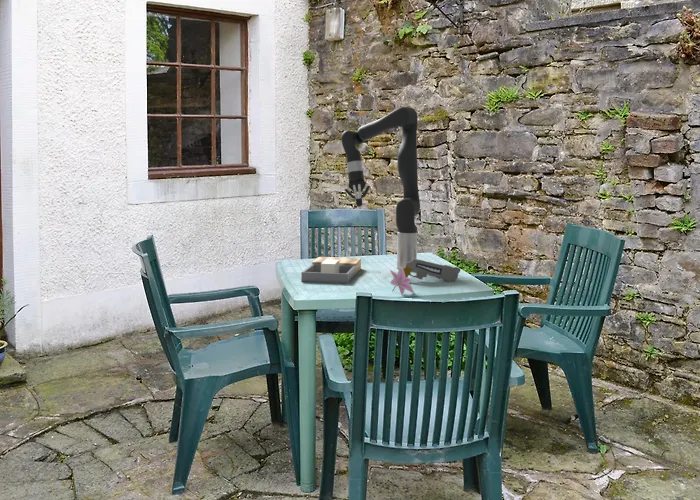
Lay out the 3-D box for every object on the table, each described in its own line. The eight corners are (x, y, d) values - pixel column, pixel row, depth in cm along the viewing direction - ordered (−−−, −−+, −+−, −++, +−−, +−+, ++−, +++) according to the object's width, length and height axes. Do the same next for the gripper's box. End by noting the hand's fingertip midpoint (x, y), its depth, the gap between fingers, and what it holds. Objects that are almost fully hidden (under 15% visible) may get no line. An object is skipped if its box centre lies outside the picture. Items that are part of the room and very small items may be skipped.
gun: (448, 301, 325) (462, 269, 324) (397, 281, 319) (410, 248, 318) (446, 299, 328) (459, 268, 327) (395, 279, 322) (409, 247, 321)
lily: (385, 298, 292) (396, 278, 288) (377, 281, 302) (388, 262, 298) (411, 305, 297) (422, 286, 293) (402, 288, 307) (413, 270, 303)
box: (355, 274, 337) (355, 265, 336) (347, 283, 316) (348, 274, 315) (311, 272, 340) (312, 264, 339) (301, 281, 319) (301, 272, 318)
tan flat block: (360, 268, 353) (361, 258, 352) (355, 274, 337) (355, 263, 336) (319, 267, 356) (319, 256, 355) (312, 272, 340) (312, 261, 340)
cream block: (339, 259, 335) (334, 264, 323) (339, 273, 336) (334, 277, 324) (326, 259, 336) (320, 263, 324) (326, 272, 337) (320, 277, 325)
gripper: (340, 172, 361) (345, 207, 360) (367, 168, 359) (372, 204, 358) (343, 174, 369) (347, 209, 368) (369, 170, 367) (374, 205, 366)
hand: (359, 206), depth 363 cm, fingers closed
